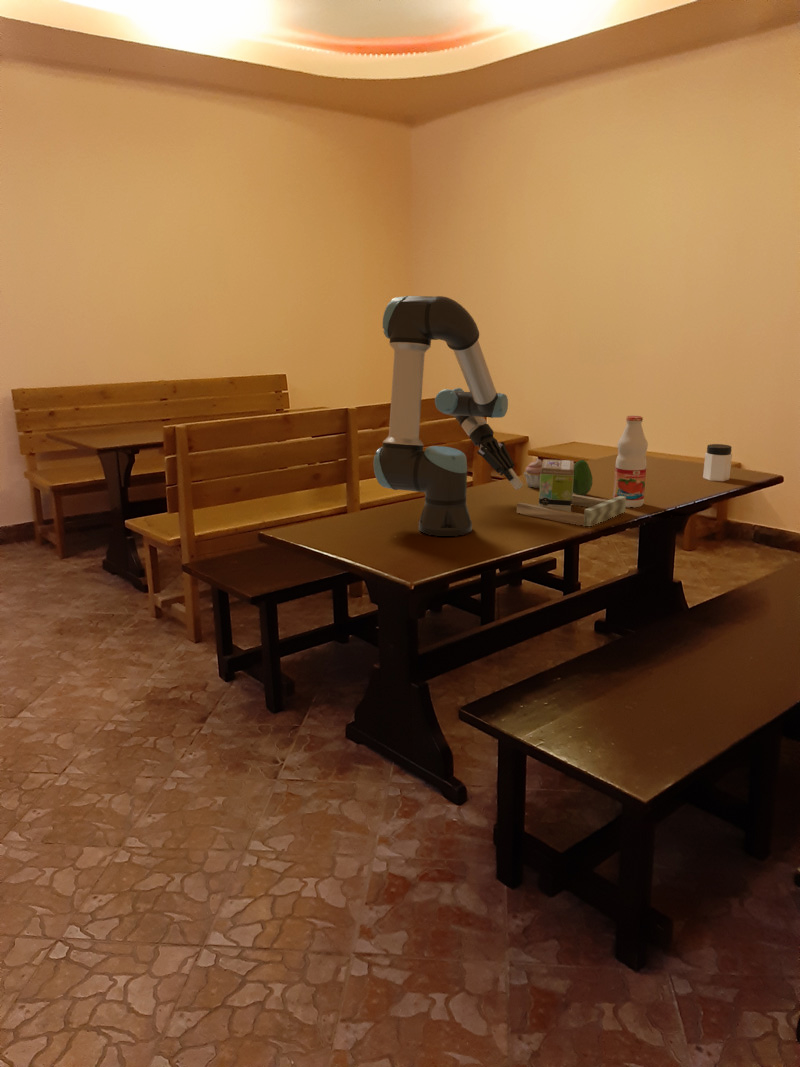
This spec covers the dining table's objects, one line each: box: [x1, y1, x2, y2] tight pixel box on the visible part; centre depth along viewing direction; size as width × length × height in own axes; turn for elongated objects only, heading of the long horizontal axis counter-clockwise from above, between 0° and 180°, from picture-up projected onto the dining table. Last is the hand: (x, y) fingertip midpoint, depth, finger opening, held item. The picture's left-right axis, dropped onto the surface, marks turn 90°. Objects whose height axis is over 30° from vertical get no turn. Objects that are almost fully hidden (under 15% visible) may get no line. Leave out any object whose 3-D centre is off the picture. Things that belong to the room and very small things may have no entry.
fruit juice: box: [612, 415, 649, 508], centre depth 261 cm, size 9×9×28 cm
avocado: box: [572, 459, 593, 496], centre depth 275 cm, size 8×8×12 cm
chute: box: [516, 493, 627, 527], centre depth 254 cm, size 22×25×5 cm
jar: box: [702, 443, 733, 482], centre depth 298 cm, size 9×8×12 cm
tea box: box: [538, 459, 575, 512], centre depth 256 cm, size 15×10×15 cm
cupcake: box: [523, 457, 543, 489], centre depth 288 cm, size 9×9×10 cm
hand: (519, 487), depth 266 cm, fingers closed
